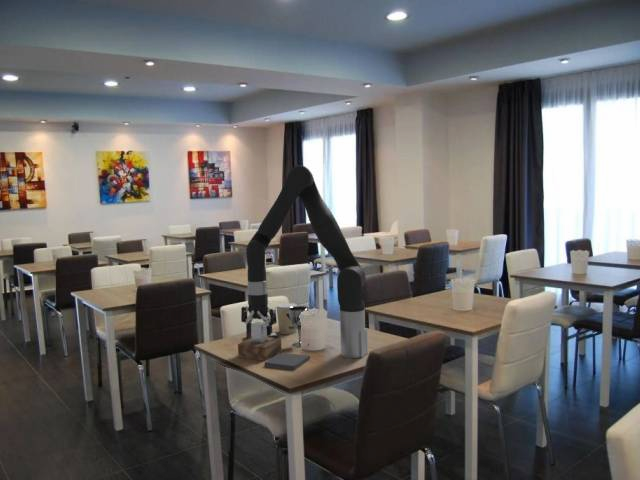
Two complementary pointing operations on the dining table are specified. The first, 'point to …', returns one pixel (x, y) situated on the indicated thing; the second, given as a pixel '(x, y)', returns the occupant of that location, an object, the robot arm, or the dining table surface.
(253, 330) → the peg
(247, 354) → the socket block
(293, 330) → the coffee cup
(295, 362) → the mat
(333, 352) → the dining table surface
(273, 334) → the calculator
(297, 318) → the wine glass
